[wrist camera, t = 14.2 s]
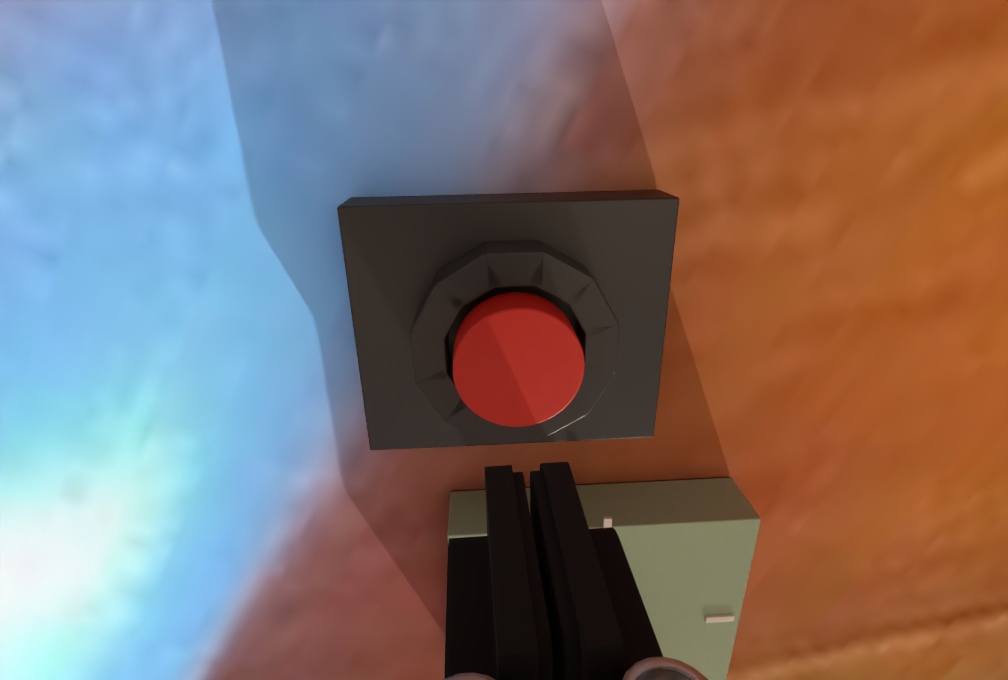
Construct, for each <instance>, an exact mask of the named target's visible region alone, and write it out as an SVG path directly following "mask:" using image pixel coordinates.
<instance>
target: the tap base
mask: <svg viewBox="0 0 1008 680" xmlns="http://www.w3.org/2000/svg"><path fill="white" fill-rule="evenodd" d="M576 488H577V492H578V495H579V498H580V501H581V505H582V508H583V511H584V514H585V518H586V521H587V524H588V527H589V529H594V528H609V527H613V528H614V529H615V530H616V532H617V534H618V536H619V539H620V541H621V544H622V547H623V550H624V552H625V555H626V558H627V560H628V563H629V566H630V568H631V571H632V574H633V576H634V579H635V582H636V585H637V587H638V590H639V593H640V595H641V598H642V601H643V603H644V606H645V609H646V611H647V614H648V617H649V620H650V622H651V625H652V628H653V630H654V633H655V636H656V638H657V641H658V644H659V646H660V649H661V652H662V655H663V657H668V658H672V659H677V660H680V661H682V662H684V663H686V664H688V665H690V666H692V667H694V668H695V669H696V670H698V671H699V672H700V673H701V674H702V675H704V676H705V677H706V678H707V679H708V680H726V679H727V674H728V669H729V665H730V660H731V655H732V651H733V646H734V642H735V637H736V632H737V628H738V623H739V618H740V614H741V609H742V604H743V600H744V595H745V591H746V586H747V581H748V577H749V572H750V567H751V563H752V558H753V554H754V549H755V544H756V540H757V535H758V530H759V526H760V521H761V518H760V517H759V515H758V514H757V513H756V511H755V510H754V508H753V507H752V506H751V504H750V503H749V501H748V500H747V499H746V497H745V496H744V494H743V493H742V492H741V490H740V489H739V487H738V486H737V485H736V483H735V482H734V480H733V479H732V478H710V479H690V480H671V481H651V482H631V483H611V484H591V485H576ZM526 494H527V500H528V505H529V511H530V488H526ZM477 536H487V519H486V493H485V490H473V491H453V492H450V497H449V514H448V532H447V539H448V541H449V538H463V537H477Z"/></svg>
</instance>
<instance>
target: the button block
mask: <svg viewBox="0 0 1008 680" xmlns="http://www.w3.org/2000/svg"><path fill="white" fill-rule="evenodd" d="M678 206H679V198H678V197H675V196H673V195H670V194H668V193H665V192H663V191H660V190H633V191H593V192H554V193H514V194H475V195H435V196H396V197H357V198H350V199H348V200H347V201H345V202H344V203H343V204H341V205H340V206H338V208H337V210H338V217H339V225H340V232H341V239H342V247H343V254H344V261H345V269H346V276H347V283H348V291H349V298H350V305H351V312H352V320H353V327H354V334H355V342H356V349H357V356H358V364H359V371H360V378H361V386H362V393H363V400H364V408H365V415H366V422H367V430H368V437H369V444H370V449H371V450H388V449H409V448H431V447H452V446H474V445H495V444H517V443H538V442H559V441H581V440H602V439H624V438H645V437H653V436H654V427H655V418H656V409H657V399H658V390H659V381H660V372H661V363H662V353H663V344H664V335H665V326H666V316H667V307H668V298H669V289H670V279H671V270H672V261H673V252H674V243H675V233H676V224H677V215H678ZM508 292H526V293H532V294H535V295H538V296H541V297H543V298H546V299H547V300H549V301H551V302H552V303H554V304H555V305H556V306H558V307H559V308H560V309H561V310H562V311H563V312H564V314H565V315H566V316H567V318H568V319H569V321H570V323H571V325H572V327H573V329H574V331H575V333H576V335H577V338H578V340H579V342H580V344H581V347H582V350H583V354H584V362H585V368H584V376H583V379H582V383H581V385H580V388H579V390H578V392H577V393H576V395H575V397H574V398H573V399H572V401H571V402H570V403H569V404H568V405H567V406H566V407H565V408H564V409H563V410H562V411H561V412H559V413H558V414H557V415H555V416H553V417H552V418H550V419H548V420H546V421H544V422H541V423H538V424H534V425H530V426H523V427H510V426H502V425H498V424H495V423H492V422H489V421H487V420H485V419H483V418H481V417H480V416H478V415H477V414H475V413H474V412H473V411H472V410H471V409H470V408H468V406H467V405H466V404H465V403H464V402H463V400H462V399H461V397H460V396H459V394H458V392H457V389H456V387H455V383H454V380H453V353H454V343H455V337H456V334H457V331H458V329H459V326H460V324H461V323H462V321H463V320H464V318H465V317H466V315H467V314H468V313H469V312H470V311H471V310H472V309H473V308H474V307H475V306H477V305H478V304H480V303H481V302H482V301H484V300H486V299H488V298H490V297H493V296H496V295H498V294H503V293H508Z"/></svg>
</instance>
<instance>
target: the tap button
mask: <svg viewBox="0 0 1008 680" xmlns="http://www.w3.org/2000/svg"><path fill="white" fill-rule="evenodd" d="M584 368H585V362H584V354H583V350H582V347H581V344H580V342H579V340H578V338H577V335H576V333H575V331H574V329H573V327H572V325H571V323H570V321H569V319H568V318H567V316H566V315H565V314H564V312H563V311H562V310H561V309H560V308H559V307H558V306H556V305H555V304H554V303H552V302H551V301H549V300H547V299H546V298H543V297H541V296H538V295H535V294H532V293H526V292H508V293H503V294H498V295H496V296H493V297H490V298H488V299H486V300H484V301H482V302H481V303H480V304H478V305H477V306H475V307H474V308H473V309H472V310H471V311H470V312H469V313H468V314H467V315H466V317H465V318H464V320H463V321H462V323H461V324H460V326H459V329H458V331H457V334H456V337H455V343H454V353H453V380H454V383H455V387H456V389H457V392H458V394H459V396H460V397H461V399H462V400H463V402H464V403H465V404H466V405H467V406H468V408H470V409H471V410H472V411H473V412H474V413H475V414H477V415H478V416H480V417H481V418H483V419H485V420H487V421H489V422H492V423H495V424H498V425H502V426H510V427H523V426H530V425H534V424H538V423H541V422H544V421H546V420H548V419H550V418H552V417H553V416H555V415H557V414H558V413H559V412H561V411H562V410H563V409H564V408H565V407H566V406H567V405H568V404H569V403H570V402H571V401H572V399H573V398H574V397H575V395H576V393H577V392H578V390H579V388H580V385H581V383H582V379H583V376H584Z"/></svg>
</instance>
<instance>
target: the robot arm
mask: <svg viewBox="0 0 1008 680" xmlns="http://www.w3.org/2000/svg"><path fill="white" fill-rule="evenodd" d="M485 493H486V519H487V536H477V537H463V538H449V541H448V571H447V608H446V645H445V679H443V680H708V679H707V678H706V677H705V676H704V675H702V674H701V673H700V672H699V671H698V670H696V669H695V668H694V667H692V666H690V665H688V664H686V663H684V662H682V661H680V660H677V659H672V658H668V657H663V655H662V652H661V649H660V646H659V644H658V641H657V638H656V636H655V633H654V630H653V628H652V625H651V622H650V620H649V617H648V614H647V611H646V609H645V606H644V603H643V601H642V598H641V595H640V593H639V590H638V587H637V585H636V582H635V579H634V576H633V574H632V571H631V568H630V566H629V563H628V560H627V558H626V555H625V552H624V550H623V547H622V544H621V541H620V539H619V536H618V534H617V532H616V530H615V529H614V528H613V527H609V528H594V529H589V527H588V524H587V521H586V518H585V514H584V511H583V508H582V505H581V501H580V498H579V495H578V492H577V488H576V485H575V482H574V479H573V475H572V472H571V469H570V466H569V463H568V462H557V463H541V464H540V471H531V473H530V511H529V505H528V500H527V494H526V488H525V482H524V476H523V472H514V473H513V471H512V466H511V465H507V466H491V467H485Z"/></svg>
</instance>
